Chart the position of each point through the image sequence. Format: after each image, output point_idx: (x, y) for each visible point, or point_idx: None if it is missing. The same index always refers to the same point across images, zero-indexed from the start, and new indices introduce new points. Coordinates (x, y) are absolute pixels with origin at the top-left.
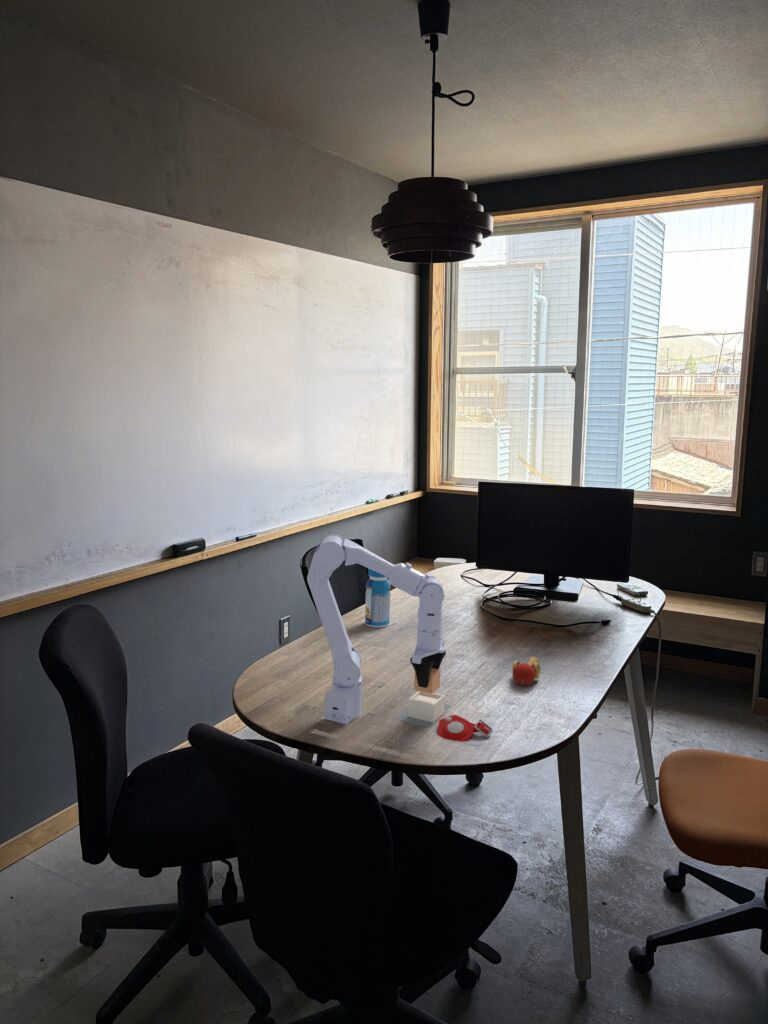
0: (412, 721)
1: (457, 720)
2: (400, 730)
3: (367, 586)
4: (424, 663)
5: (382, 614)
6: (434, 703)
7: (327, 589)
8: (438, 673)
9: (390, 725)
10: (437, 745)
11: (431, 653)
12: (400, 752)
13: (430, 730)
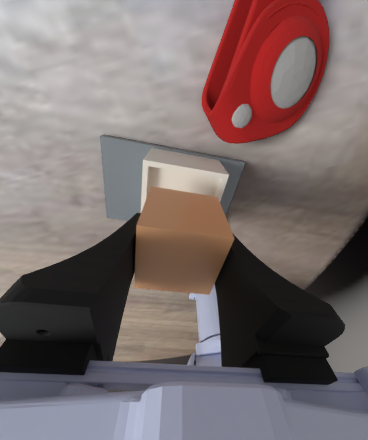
0: (223, 202)
1: (265, 75)
2: (251, 212)
3: None
4: (324, 341)
5: None
6: (217, 175)
7: None
8: (161, 221)
9: (233, 231)
10: (320, 121)
11: (345, 433)
12: (345, 190)
13: (241, 157)
